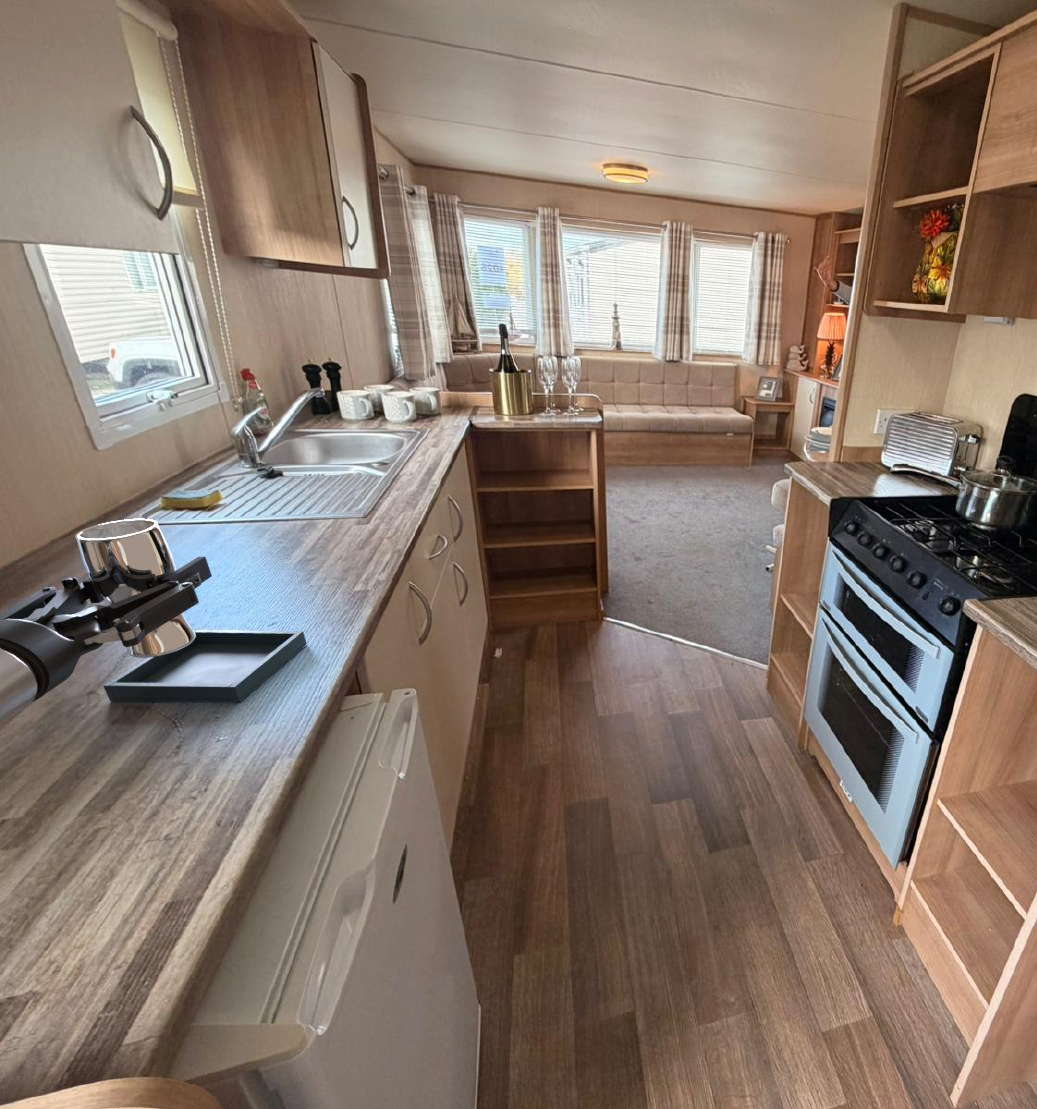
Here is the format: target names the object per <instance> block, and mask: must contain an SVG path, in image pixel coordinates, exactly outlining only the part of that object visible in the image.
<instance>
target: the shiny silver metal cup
mask: <svg viewBox="0 0 1037 1109" xmlns="http://www.w3.org/2000/svg"><path fill="white" fill-rule="evenodd" d="M74 538H75V540H76V542H77V547H78V549H79V553H80V557H81V559H82V563H83V565H84V568H85V570H86V573H87V575H88V577H89V578H90V579H91V581H92V583H93V585H94V586H95V588H96V589H97V591H98V592H99V594H100V595H101V597H102V598H103V599H104V600H103V602H105V604H106V606H108V605H111V604H113V603H116V602H118V601H121V600H123V599H126V598H128V597H131V596H133V595H136V594H138V593H141V592H143V591H146V590H148V589H151V588H153V587H156V586H158V585H161V584H163V583H162V580H161V579H163V578H165V577H166V576H168V575H169V574H171V573H173V572H174V571H176V570H177V567H176V563H175V560H174V557H173V554H172V552H171V549H170V546H169V545H168V542H167V540H166V539H165V536H164V534H163V532H162V530H161V528H160V525H159V523H158V521H156V520H153V519H145V518H133V519H124V520H123V519H122V520H116V521H115V520H114V521H110V522H109V521H108V522H105V523H104V522H103V523H99V524H96V525H92V526H88V527H86V528H84V529H81V530H80V531H78V532H76V533H75V535H74ZM186 618H187V617H185V614H184V612H183V613H181V614H180V615H178V616H177V617H175V618H173V619H172V620H170V621H168V622H167V623H165V624H163V625H162V626H160V627H158V628H157V629H155V630H154V631H152V632H150V633H149V634H147V635H146V636H145V637H144V638H143V639H142V641H141V642H140V643H139V644H137V645H134V646H131V647H125V648H126V653H127V654H128V655H129V656H130V657H133V658H136V659H137V658H138V659H146V658H149V657H156V656H161V655H165V654H169V653H172V652H175V651H177V650H180V649H182V648H184V647H186V646H187V645H189V644H190V643H192V642H193V641H194V640H195V638H196V634H195V632H194V630H195V629H194V628H192V626H191V624H190V623H189V622H188V620H187V619H186Z"/></svg>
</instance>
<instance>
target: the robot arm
mask: <svg viewBox="0 0 1037 1109" xmlns="http://www.w3.org/2000/svg"><path fill="white" fill-rule="evenodd" d="M211 577H213V575H212V572H211V568H210V566H209V562H208V560H207V557H206V556H196V558H194V559H193V560H191V561H189V562H187V563H186V564H184V565H183V566H181V567H179V568H177V569H176V571H174V572H173V573H171V574H169V575H168V576H166V577H165V578H163V579H161V580H162V583H163V584H161V585H158V586H156V587H153V588H151V589H148V590H146V591H143V592H141V593H138V594H136V595H133V596H131V597H128V598H126V599H123V600H121V601H118V602H116V603H113V604H111V605H101V604H100V603H102V602H104V599H103V598H102V597H101V595H100V594H99V592H98V591H97V589H96V588H95V586H94V585H93V583H92V581H91V579H90V577H89V578H86V579H85V580H83V581H82V582H80V583H79V580H78V577H67V578H64V579H61V580H60V582H61V585H62V586H63V587H62V588H61V589H56V587H55V586H45V587H43V588H41V589H38V590H37V591H35V592H34V593H32V594H30V595H29V596H27V597H25V598H23V599H21V600H20V601H18V602H16V603H15V604H13V605H11V606H9V607H8V608H6V609H5V610H3V611H1V612H0V725H1V724H3V723H4V722H6V721H7V720H9V719H10V718H12V717H13V716H15V715H17V714H18V713H20V712H21V711H23V710H24V709H25V708H27V707H28V706H29V705H30V704H31V703H34V702H36V701H37V700H39V699H41V698H42V697H43V696H45V695H47V694H48V693H49V692H51V691H53V690H54V689H55V688H57V687H58V686H59V685H61V684H62V683H64V682H65V681H67V680H68V679H69V678H70V677H71V676H72V674H73V673H74V671H75V668H76V667H77V664H78V662H79V660H80V658H81V657H82V656H83V655H86V654H88V653H90V652H93V651H96V650H97V649H99V648H101V647H102V646H103V645H104V643H105V644H106V643H112V642H120V641H121V644H122V647H124V648H126V647H131V646H134V645H137V644H139V643H140V642H141V641H142V639H143V638H144V637H145V636H146V635H147V634H149V633H150V632H152V631H154V630H155V629H157V628H158V627H160V626H162V625H163V624H165V623H167V622H168V621H170V620H172V619H173V618H175V617H177V616H178V615H180V614H181V613H183V614H184V613H185V612H186V611H188V610H190V609H192V608H193V607H195V606H196V605H199V603H200V600H199V597H198V595H197V591H196V589H197V588H198V587H200V586H201V585H202V584H203V583H204V582H206V581H207V580H209V579H211ZM87 600H89V601H90V604H97V605H94V606H91V607H88V608H86V607H87V606H88V601H87ZM85 608H86V609H85Z"/></svg>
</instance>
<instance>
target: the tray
mask: <svg viewBox="0 0 1037 1109" xmlns="http://www.w3.org/2000/svg"><path fill="white" fill-rule="evenodd" d="M193 630H194V632H195V634H196V638H195V640H194V641H193V642H192V643H190V644H189V645H187V646H186V647H184V648H182V649H180V650H177V651H175V652H172V653H169V654H165V655H161V656H156V657H149V658H144V659H143V660H142V661H140V662H138V663H137V664H136V665H134V666H132V667H130V668H129V669H127V670H126V671H124V672H123V673H121V674H119V675H118V676H116V677H115V678H113V679H112V680H110V681H109V682H107V683H106V684H104V685H103V689H104V691H105V694H106V695H107V698H108V700H109V702H110V703H214V704H215V703H226V704H228V703H231V704H232V703H233V704H234V703H236V704H238V703H242V702H243V701H244V700H245V699H246V698H247V697H249V696H250V695H251V694H252V693H254V691H256V690H257V689H258V688H259V687H261V685H263V684H264V683H265V682H266V681H268V680H269V679H270V678H271V677H272V676H273V675H274V674H276V673H277V672H278V671H280V669H281V668H282V667H284V666H285V665H286V664H287V663H289V661H291V660H292V659H293V658H294V657H295V656H297V655H298V654H299V653H300V652H301V651H302V650H303V649H305V648H306V647H307V646H308V643H307V639H306V636H305V633H304V631H303V630H245V629H244V630H243V629H240V630H239V629H193ZM306 644H307V645H306ZM305 645H306V646H305ZM304 646H305V647H304ZM303 647H304V648H303ZM302 648H303V649H302ZM301 649H302V650H301ZM300 650H301V651H300Z"/></svg>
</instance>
